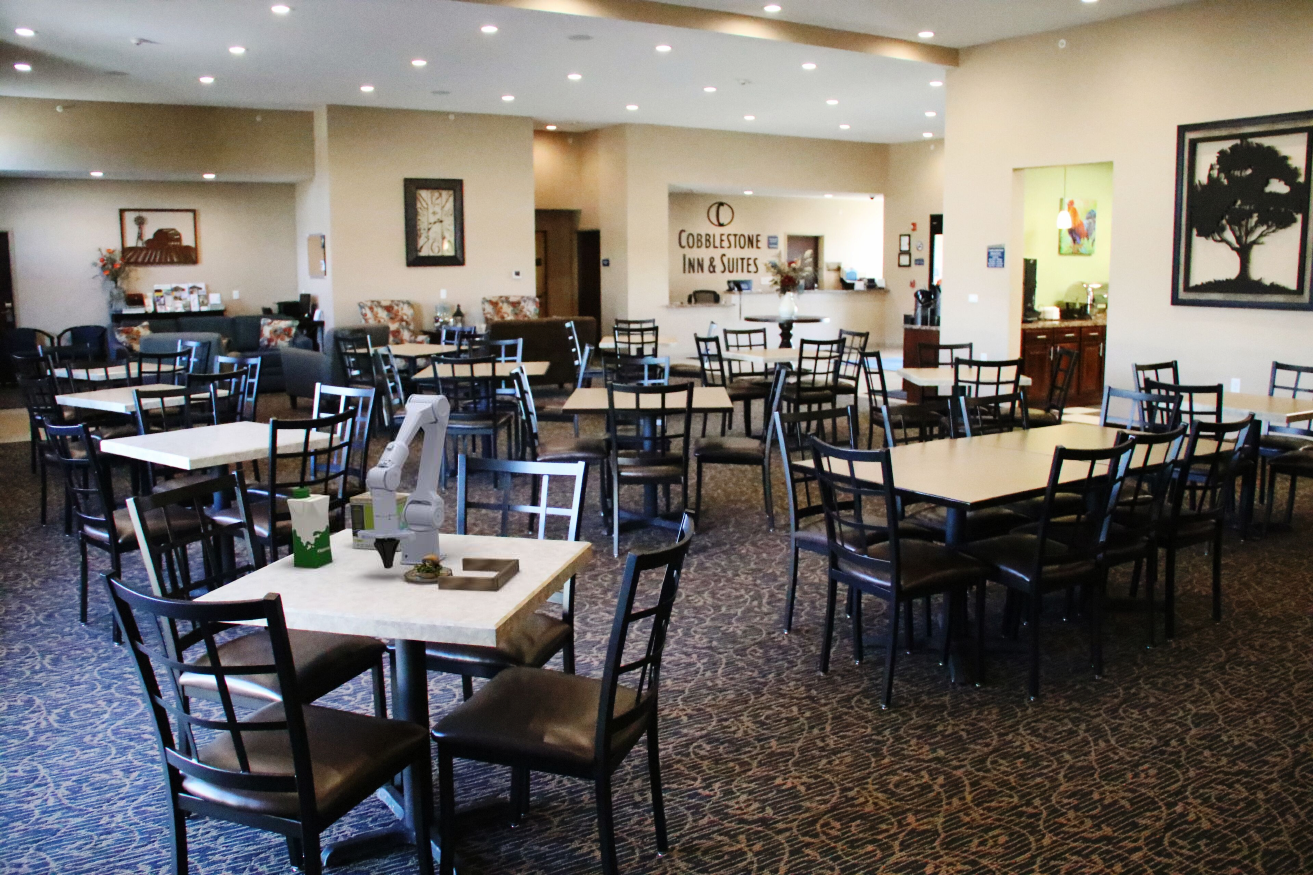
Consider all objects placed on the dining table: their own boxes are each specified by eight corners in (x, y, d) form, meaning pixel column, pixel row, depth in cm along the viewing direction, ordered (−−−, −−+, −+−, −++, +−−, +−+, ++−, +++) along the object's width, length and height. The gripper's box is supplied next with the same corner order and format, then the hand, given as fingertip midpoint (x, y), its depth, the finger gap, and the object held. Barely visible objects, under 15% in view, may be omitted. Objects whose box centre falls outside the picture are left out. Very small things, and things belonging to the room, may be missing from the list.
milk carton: (309, 558, 279) (304, 485, 275) (338, 560, 276) (333, 487, 273) (288, 567, 270) (282, 492, 267) (317, 569, 267) (311, 494, 264)
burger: (395, 580, 257) (393, 551, 256) (434, 569, 266) (432, 541, 265) (423, 589, 250) (422, 559, 248) (462, 578, 258) (461, 549, 257)
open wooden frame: (438, 589, 248) (437, 576, 248) (464, 568, 265) (463, 557, 265) (497, 591, 246) (496, 578, 245) (519, 570, 263) (518, 559, 262)
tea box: (418, 543, 293) (415, 492, 290) (398, 552, 283) (395, 499, 281) (372, 540, 298) (369, 489, 295) (351, 548, 288) (348, 496, 286)
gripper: (350, 517, 255) (354, 570, 257) (406, 518, 252) (409, 572, 254) (363, 511, 262) (367, 563, 264) (417, 512, 259) (420, 564, 261)
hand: (388, 567), depth 259 cm, fingers closed
